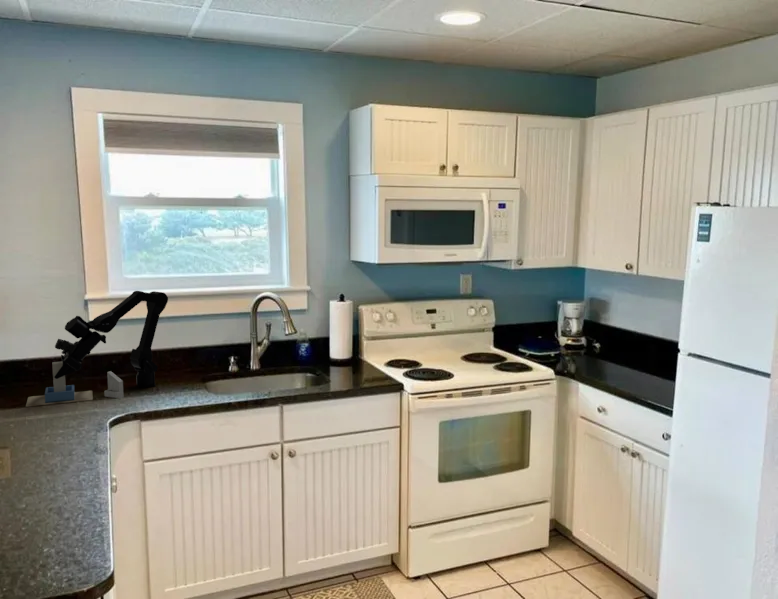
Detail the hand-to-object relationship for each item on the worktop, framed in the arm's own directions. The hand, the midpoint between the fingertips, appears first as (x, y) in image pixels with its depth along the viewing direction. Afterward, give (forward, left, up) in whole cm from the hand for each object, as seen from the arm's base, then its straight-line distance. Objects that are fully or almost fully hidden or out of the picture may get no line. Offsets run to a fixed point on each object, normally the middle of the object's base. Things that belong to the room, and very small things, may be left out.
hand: (54, 376), depth 241 cm
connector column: (-1, 0, -8) cm, 8 cm away
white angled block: (-20, +4, -10) cm, 23 cm away
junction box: (-1, 0, -9) cm, 9 cm away
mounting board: (-1, 0, -10) cm, 10 cm away
